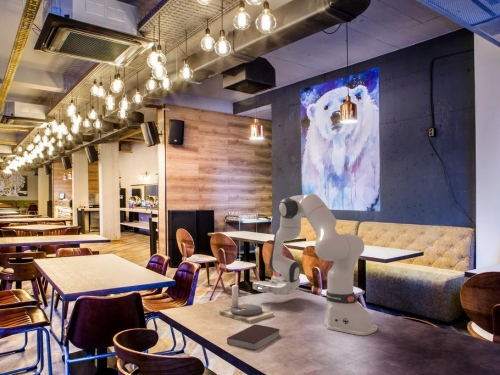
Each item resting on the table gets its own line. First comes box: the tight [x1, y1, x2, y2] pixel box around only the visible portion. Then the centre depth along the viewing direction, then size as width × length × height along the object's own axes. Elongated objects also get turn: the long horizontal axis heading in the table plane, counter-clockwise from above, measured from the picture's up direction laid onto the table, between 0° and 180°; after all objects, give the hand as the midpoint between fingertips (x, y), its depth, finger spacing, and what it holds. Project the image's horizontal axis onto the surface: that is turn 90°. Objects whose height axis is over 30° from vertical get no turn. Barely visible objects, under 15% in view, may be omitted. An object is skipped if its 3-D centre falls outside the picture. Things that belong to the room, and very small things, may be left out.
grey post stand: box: [228, 284, 263, 315], centre depth 182 cm, size 17×15×11 cm
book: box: [226, 323, 281, 351], centre depth 149 cm, size 13×19×3 cm, turn 147°
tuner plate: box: [219, 307, 274, 324], centre depth 181 cm, size 20×16×2 cm
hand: (259, 289), depth 196 cm, fingers closed
